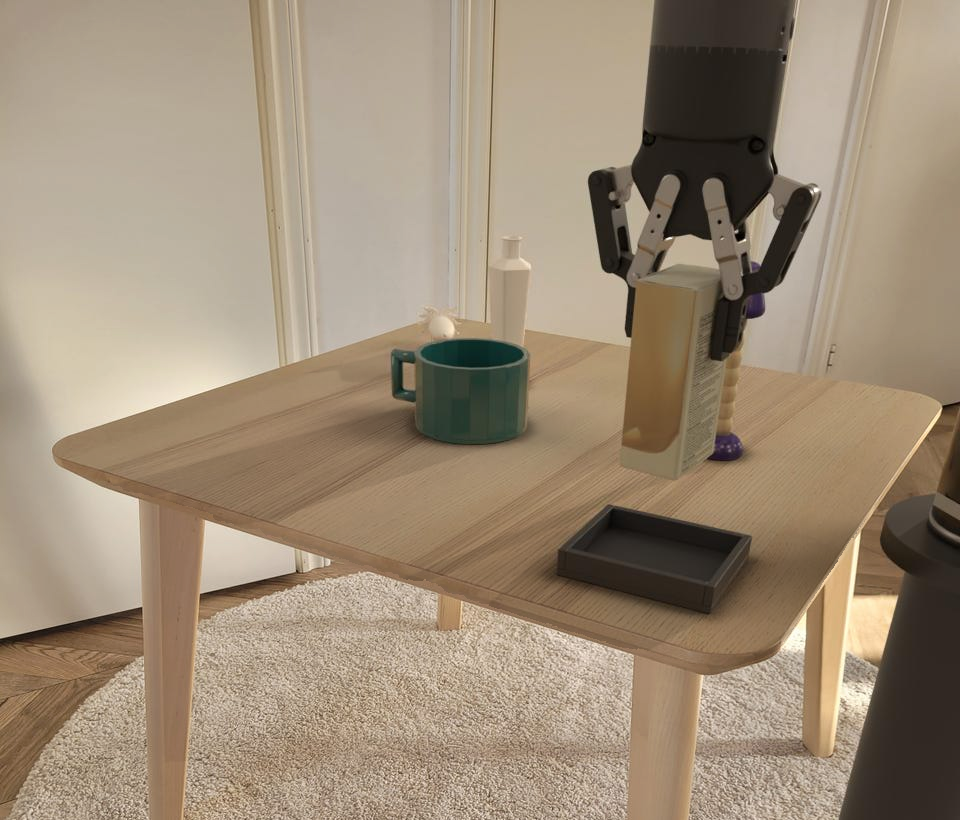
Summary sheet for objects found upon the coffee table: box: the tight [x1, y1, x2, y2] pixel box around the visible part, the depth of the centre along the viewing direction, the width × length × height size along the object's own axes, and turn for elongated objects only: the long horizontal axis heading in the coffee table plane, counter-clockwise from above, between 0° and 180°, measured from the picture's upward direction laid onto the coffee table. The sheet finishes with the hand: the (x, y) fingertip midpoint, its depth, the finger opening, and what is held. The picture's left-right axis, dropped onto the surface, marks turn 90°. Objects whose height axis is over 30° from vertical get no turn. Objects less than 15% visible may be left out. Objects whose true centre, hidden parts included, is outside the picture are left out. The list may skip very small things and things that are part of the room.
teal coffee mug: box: [390, 337, 531, 445], centre depth 96 cm, size 14×11×7 cm
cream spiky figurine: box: [416, 305, 462, 343], centre depth 117 cm, size 12×5×5 cm, turn 6°
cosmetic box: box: [619, 263, 727, 482], centre depth 64 cm, size 6×4×12 cm
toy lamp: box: [707, 260, 766, 461], centre depth 88 cm, size 5×5×17 cm
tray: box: [556, 503, 753, 614], centre depth 71 cm, size 11×9×2 cm
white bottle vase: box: [487, 235, 532, 348], centre depth 105 cm, size 5×4×15 cm
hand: (680, 350), depth 64 cm, fingers closed on cosmetic box, 4 cm apart
